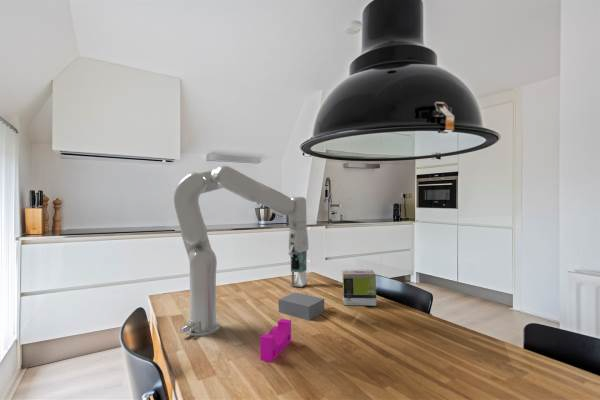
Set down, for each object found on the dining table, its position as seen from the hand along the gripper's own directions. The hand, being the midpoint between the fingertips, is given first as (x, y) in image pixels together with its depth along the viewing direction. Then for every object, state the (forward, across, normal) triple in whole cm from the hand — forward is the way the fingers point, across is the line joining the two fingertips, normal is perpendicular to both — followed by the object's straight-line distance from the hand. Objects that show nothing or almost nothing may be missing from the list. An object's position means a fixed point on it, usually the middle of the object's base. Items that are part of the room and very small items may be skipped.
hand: (298, 267), depth 133 cm
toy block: (+20, -32, -7) cm, 38 cm away
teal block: (+2, 0, 0) cm, 2 cm away
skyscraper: (+21, +40, +20) cm, 50 cm away
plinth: (+20, +2, 0) cm, 20 cm away
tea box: (+21, +25, -19) cm, 37 cm away
